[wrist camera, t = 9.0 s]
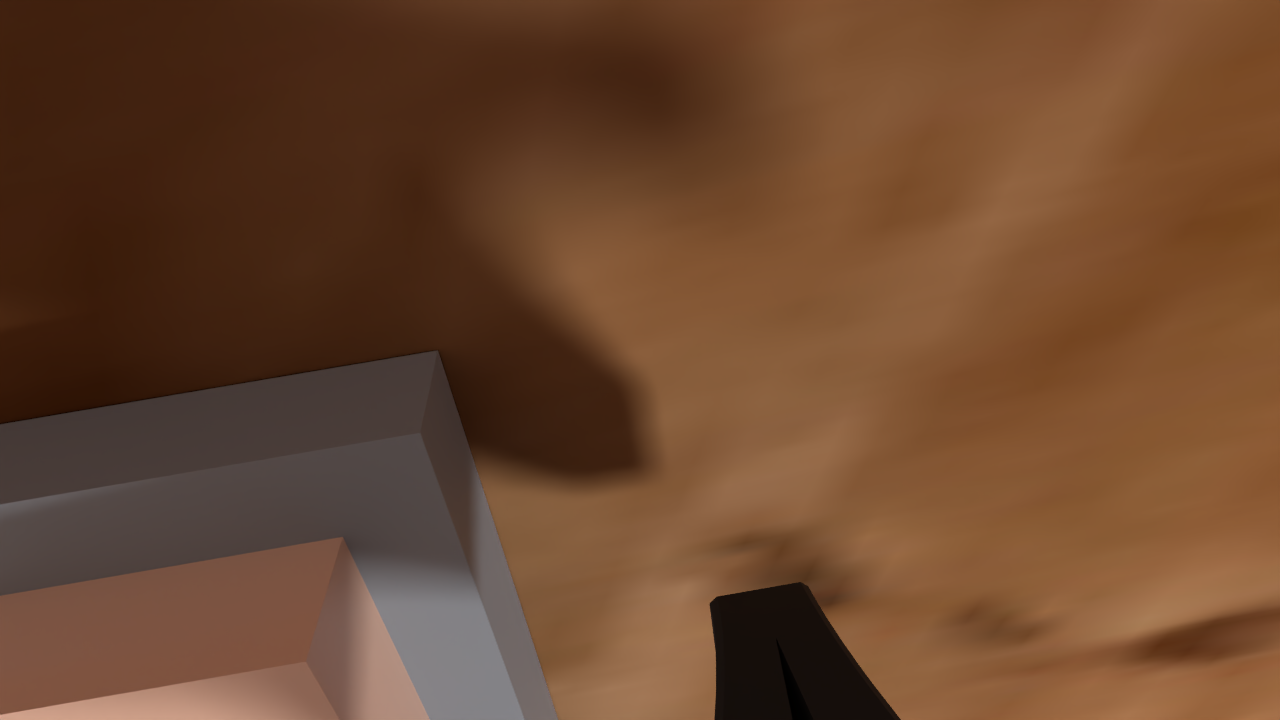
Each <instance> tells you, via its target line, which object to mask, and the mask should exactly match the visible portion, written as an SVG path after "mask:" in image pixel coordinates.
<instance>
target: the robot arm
mask: <svg viewBox="0 0 1280 720" xmlns="http://www.w3.org/2000/svg"><path fill="white" fill-rule="evenodd" d="M710 611H711V618H712V626H713V634H714V642H715V649H716V704H715V720H901V719H900V718H899V717H898V716H897V714H896V713H895V712H894V710H893V709H892V708H891V707H890V705H889V704H888V703H887V702H886V700H885V699H884V698H883V696H882V695H881V694H880V693H879V691H878V690H877V689H876V687H875V686H874V685H873V684H872V682H871V681H870V680H869V678H868V677H867V675H866V674H865V673H864V671H863V670H862V669H861V667H860V666H859V665H858V663H857V662H856V660H855V659H854V658H853V656H852V655H851V653H850V652H849V650H848V649H847V648H846V646H845V645H844V643H843V642H842V640H841V639H840V637H839V636H838V634H837V633H836V631H835V630H834V628H833V627H832V625H831V624H830V622H829V621H828V619H827V618H826V616H825V614H824V613H823V611H822V610H821V608H820V606H819V605H818V603H817V601H816V600H815V598H814V596H813V594H812V593H811V591H810V589H809V587H808V586H806V585H805V584H803V583H801V582H799V583H793V584H787V585H781V586H776V587H770V588H764V589H758V590H753V591H747V592H741V593H735V594H730V595H724V596H718V597H716V598H715V599H714V600H713V601H712V602H711V603H710Z"/></svg>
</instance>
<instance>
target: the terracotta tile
mask: <svg viewBox="0 0 1280 720" xmlns="http://www.w3.org/2000/svg"><path fill="white" fill-rule="evenodd" d="M0 720H430V719H429V717H428V715H427V713H426V711H425V708H424V706H423V704H422V702H421V700H420V698H419V696H418V694H417V692H416V690H415V687H414V685H413V683H412V681H411V679H410V677H409V675H408V673H407V671H406V669H405V666H404V664H403V662H402V660H401V658H400V656H399V654H398V652H397V650H396V648H395V645H394V643H393V641H392V639H391V637H390V635H389V633H388V631H387V629H386V627H385V624H384V622H383V620H382V618H381V616H380V614H379V612H378V610H377V608H376V606H375V603H374V601H373V599H372V597H371V595H370V593H369V591H368V589H367V587H366V585H365V582H364V580H363V578H362V576H361V574H360V572H359V570H358V568H357V566H356V564H355V561H354V559H353V557H352V555H351V553H350V551H349V549H348V547H347V545H346V543H345V540H344V538H343V537H339V538H333V539H327V540H321V541H315V542H310V543H304V544H298V545H292V546H286V547H281V548H275V549H269V550H263V551H257V552H252V553H246V554H240V555H234V556H228V557H223V558H217V559H211V560H205V561H199V562H194V563H188V564H182V565H176V566H170V567H165V568H159V569H153V570H147V571H141V572H136V573H130V574H124V575H118V576H112V577H107V578H101V579H95V580H89V581H83V582H77V583H72V584H66V585H60V586H54V587H48V588H43V589H37V590H31V591H25V592H19V593H14V594H8V595H2V596H0Z"/></svg>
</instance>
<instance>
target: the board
mask: <svg viewBox="0 0 1280 720" xmlns="http://www.w3.org/2000/svg"><path fill="white" fill-rule="evenodd" d="M339 537H343V538H344V540H345V543H346V545H347V547H348V549H349V551H350V553H351V555H352V557H353V559H354V561H355V564H356V566H357V568H358V570H359V572H360V574H361V576H362V578H363V580H364V582H365V585H366V587H367V589H368V591H369V593H370V595H371V597H372V599H373V601H374V603H375V606H376V608H377V610H378V612H379V614H380V616H381V618H382V620H383V622H384V624H385V627H386V629H387V631H388V633H389V635H390V637H391V639H392V641H393V643H394V645H395V648H396V650H397V652H398V654H399V656H400V658H401V660H402V662H403V664H404V666H405V669H406V671H407V673H408V675H409V677H410V679H411V681H412V683H413V685H414V687H415V690H416V692H417V694H418V696H419V698H420V700H421V702H422V704H423V706H424V708H425V711H426V713H427V715H428V717H429V719H430V720H558V718H557V715H556V712H555V709H554V706H553V703H552V700H551V697H550V694H549V690H548V687H547V684H546V681H545V678H544V675H543V672H542V669H541V666H540V663H539V660H538V657H537V654H536V651H535V647H534V644H533V641H532V638H531V635H530V632H529V629H528V626H527V623H526V620H525V617H524V614H523V611H522V607H521V604H520V601H519V598H518V595H517V592H516V589H515V586H514V583H513V580H512V577H511V574H510V571H509V568H508V564H507V561H506V558H505V555H504V552H503V549H502V546H501V543H500V540H499V537H498V534H497V531H496V528H495V524H494V521H493V518H492V515H491V512H490V509H489V506H488V503H487V500H486V497H485V494H484V491H483V488H482V485H481V481H480V478H479V475H478V472H477V469H476V466H475V463H474V460H473V457H472V454H471V451H470V448H469V445H468V442H467V438H466V435H465V432H464V429H463V426H462V423H461V420H460V417H459V414H458V411H457V408H456V405H455V402H454V398H453V395H452V392H451V389H450V386H449V383H448V380H447V377H446V374H445V371H444V368H443V365H442V362H441V359H440V355H439V352H438V350H437V351H431V352H425V353H419V354H413V355H407V356H401V357H395V358H390V359H384V360H378V361H372V362H366V363H360V364H354V365H348V366H342V367H336V368H330V369H325V370H319V371H313V372H307V373H301V374H295V375H289V376H283V377H277V378H271V379H265V380H260V381H254V382H248V383H242V384H236V385H230V386H224V387H218V388H212V389H206V390H200V391H195V392H189V393H183V394H177V395H171V396H165V397H159V398H153V399H147V400H141V401H135V402H130V403H124V404H118V405H112V406H106V407H100V408H94V409H88V410H82V411H76V412H70V413H65V414H59V415H53V416H47V417H41V418H35V419H29V420H23V421H17V422H11V423H5V424H0V596H2V595H8V594H14V593H19V592H25V591H31V590H37V589H43V588H48V587H54V586H60V585H66V584H72V583H77V582H83V581H89V580H95V579H101V578H107V577H112V576H118V575H124V574H130V573H136V572H141V571H147V570H153V569H159V568H165V567H170V566H176V565H182V564H188V563H194V562H199V561H205V560H211V559H217V558H223V557H228V556H234V555H240V554H246V553H252V552H257V551H263V550H269V549H275V548H281V547H286V546H292V545H298V544H304V543H310V542H315V541H321V540H327V539H333V538H339Z"/></svg>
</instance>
